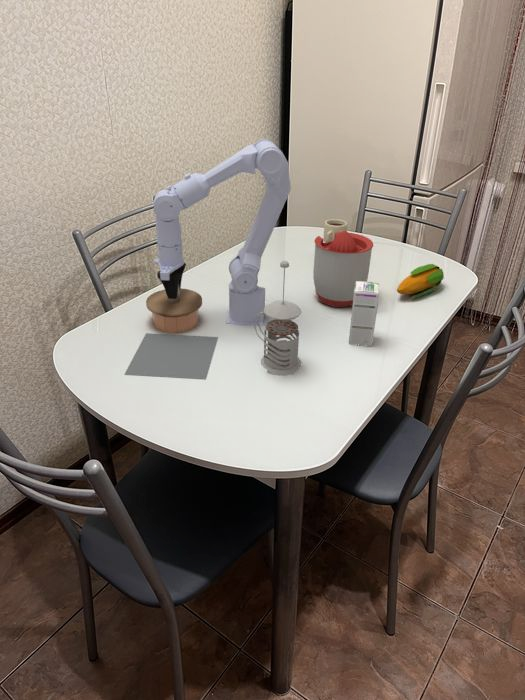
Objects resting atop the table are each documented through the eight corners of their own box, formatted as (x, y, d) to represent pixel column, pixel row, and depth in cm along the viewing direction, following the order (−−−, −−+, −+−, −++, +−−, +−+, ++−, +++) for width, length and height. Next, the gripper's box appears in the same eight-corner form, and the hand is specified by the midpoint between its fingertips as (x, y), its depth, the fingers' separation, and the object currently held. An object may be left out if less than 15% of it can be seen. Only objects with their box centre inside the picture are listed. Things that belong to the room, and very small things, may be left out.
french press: (288, 380, 113) (294, 274, 100) (244, 364, 118) (243, 261, 105) (309, 359, 120) (317, 258, 107) (266, 345, 125) (269, 246, 112)
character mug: (335, 268, 165) (339, 229, 158) (315, 264, 168) (318, 225, 161) (349, 258, 173) (353, 219, 166) (329, 253, 176) (333, 216, 169)
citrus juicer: (337, 280, 158) (344, 216, 147) (377, 303, 145) (387, 234, 135) (295, 292, 150) (299, 225, 140) (333, 316, 138) (341, 245, 127)
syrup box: (372, 347, 125) (380, 292, 118) (347, 344, 126) (354, 290, 119) (372, 335, 130) (380, 282, 122) (349, 332, 131) (355, 280, 123)
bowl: (201, 313, 139) (200, 297, 136) (193, 334, 129) (192, 318, 127) (160, 310, 139) (158, 295, 137) (149, 331, 130) (147, 316, 127)
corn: (452, 262, 151) (412, 281, 140) (448, 287, 155) (409, 307, 143) (430, 257, 156) (389, 274, 145) (427, 280, 160) (387, 299, 148)
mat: (218, 338, 128) (218, 337, 127) (205, 380, 112) (205, 379, 112) (146, 334, 129) (146, 333, 128) (124, 376, 113) (124, 374, 113)
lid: (206, 292, 137) (206, 275, 134) (196, 318, 125) (195, 300, 122) (154, 289, 138) (153, 272, 135) (139, 314, 126) (137, 296, 123)
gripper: (160, 232, 129) (165, 282, 136) (144, 253, 117) (150, 307, 124) (188, 233, 129) (191, 283, 136) (175, 255, 117) (179, 308, 124)
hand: (174, 294), depth 130 cm, fingers closed on lid, 3 cm apart
